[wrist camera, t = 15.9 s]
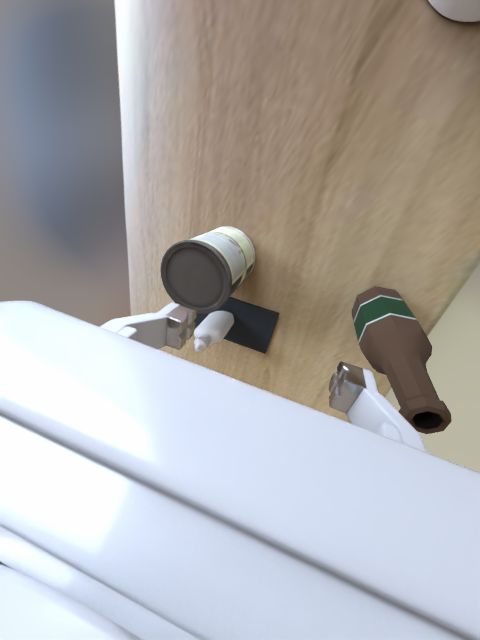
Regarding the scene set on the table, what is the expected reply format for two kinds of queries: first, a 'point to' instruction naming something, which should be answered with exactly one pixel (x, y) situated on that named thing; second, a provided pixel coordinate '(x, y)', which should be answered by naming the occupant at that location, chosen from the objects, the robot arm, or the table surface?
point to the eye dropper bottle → (212, 329)
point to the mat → (247, 324)
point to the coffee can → (207, 268)
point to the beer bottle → (400, 356)
